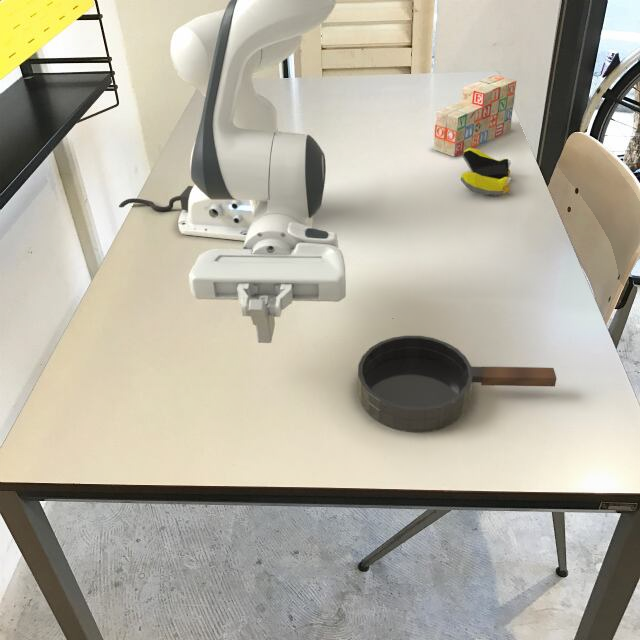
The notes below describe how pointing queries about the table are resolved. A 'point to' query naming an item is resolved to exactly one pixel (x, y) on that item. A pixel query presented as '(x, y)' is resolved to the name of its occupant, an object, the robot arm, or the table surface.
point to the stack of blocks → (475, 116)
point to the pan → (414, 383)
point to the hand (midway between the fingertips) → (260, 312)
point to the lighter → (262, 319)
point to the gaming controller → (486, 173)
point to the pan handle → (514, 376)
